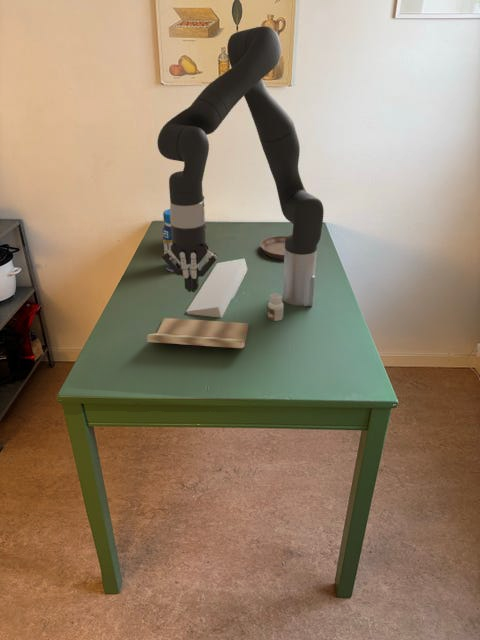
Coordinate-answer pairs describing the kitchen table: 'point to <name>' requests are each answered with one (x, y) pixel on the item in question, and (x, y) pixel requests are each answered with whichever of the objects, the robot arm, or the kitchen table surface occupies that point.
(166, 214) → the beverage bottle
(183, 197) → the robot arm
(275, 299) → the pill bottle
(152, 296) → the kitchen table surface
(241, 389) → the kitchen table surface
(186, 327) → the laid plank
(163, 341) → the oak plank
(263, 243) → the plant saucer
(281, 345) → the kitchen table surface
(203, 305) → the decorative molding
